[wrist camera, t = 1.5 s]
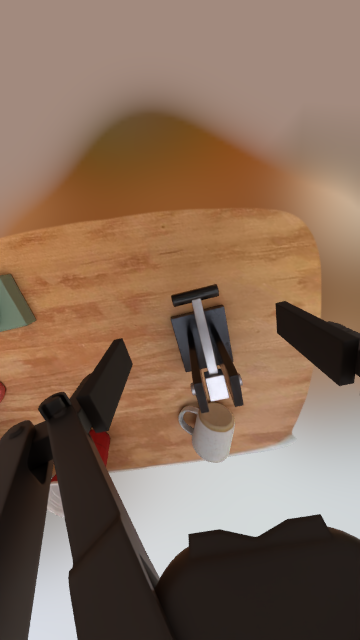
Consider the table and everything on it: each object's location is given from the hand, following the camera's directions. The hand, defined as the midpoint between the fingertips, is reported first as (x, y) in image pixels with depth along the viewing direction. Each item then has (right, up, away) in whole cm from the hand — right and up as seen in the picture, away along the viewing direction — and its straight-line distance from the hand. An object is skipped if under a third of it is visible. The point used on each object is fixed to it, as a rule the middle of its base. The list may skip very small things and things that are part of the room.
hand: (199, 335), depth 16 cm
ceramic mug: (+3, -19, +25) cm, 32 cm away
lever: (+1, -1, +8) cm, 8 cm away
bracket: (+2, -2, +18) cm, 18 cm away
